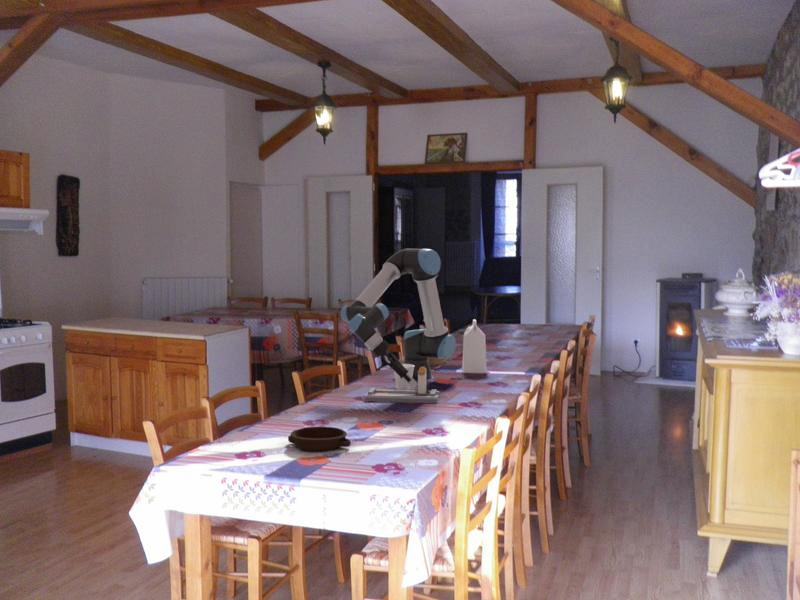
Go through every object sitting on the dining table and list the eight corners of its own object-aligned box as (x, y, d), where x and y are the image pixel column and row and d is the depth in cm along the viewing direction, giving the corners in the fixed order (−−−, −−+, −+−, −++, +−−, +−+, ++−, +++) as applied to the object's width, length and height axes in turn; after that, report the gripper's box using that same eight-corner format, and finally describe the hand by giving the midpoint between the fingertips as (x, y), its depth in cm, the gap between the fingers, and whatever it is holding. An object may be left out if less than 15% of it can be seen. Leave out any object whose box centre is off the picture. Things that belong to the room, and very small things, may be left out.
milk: (486, 373, 395) (487, 321, 393) (463, 372, 395) (464, 321, 393) (484, 369, 407) (485, 318, 405) (462, 368, 407) (462, 318, 405)
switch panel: (364, 401, 327) (364, 393, 327) (370, 394, 341) (370, 386, 341) (436, 403, 323) (436, 395, 323) (439, 396, 337) (439, 388, 337)
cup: (412, 392, 346) (412, 367, 345) (390, 391, 348) (390, 367, 347) (416, 388, 355) (416, 364, 354) (395, 387, 357) (395, 363, 356)
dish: (340, 457, 246) (340, 441, 245) (276, 451, 252) (275, 436, 252) (359, 443, 263) (359, 428, 262) (298, 438, 269) (298, 423, 269)
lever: (415, 397, 327) (415, 368, 326) (417, 393, 335) (417, 365, 334) (427, 397, 327) (427, 369, 326) (428, 393, 335) (429, 366, 334)
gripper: (381, 341, 325) (420, 383, 324) (386, 337, 338) (423, 377, 337) (368, 353, 326) (407, 395, 325) (373, 349, 339) (411, 389, 338)
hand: (415, 386), depth 331 cm, fingers closed
